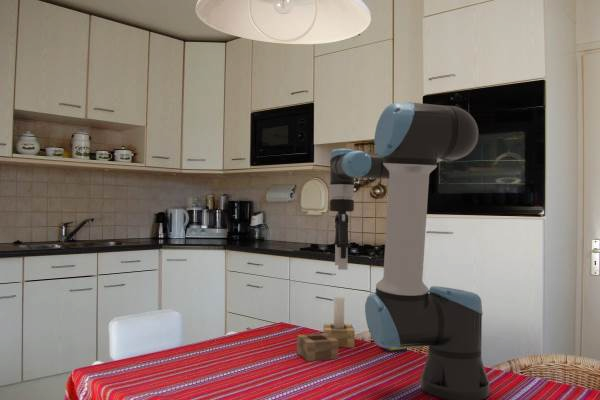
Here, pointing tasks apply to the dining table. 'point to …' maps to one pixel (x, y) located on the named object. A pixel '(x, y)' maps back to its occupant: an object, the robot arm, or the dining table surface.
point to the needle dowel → (338, 313)
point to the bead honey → (341, 334)
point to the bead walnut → (317, 347)
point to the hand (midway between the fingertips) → (340, 267)
